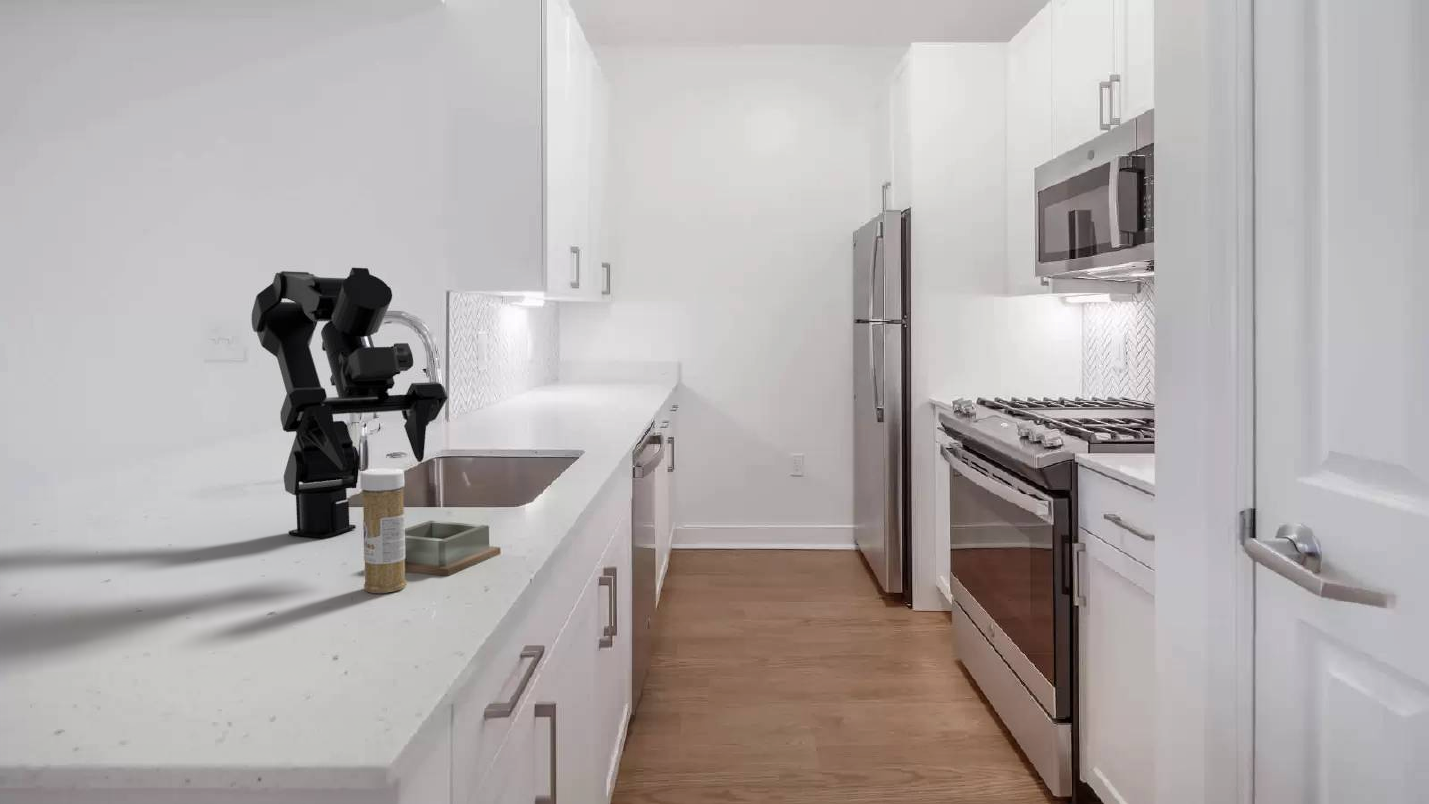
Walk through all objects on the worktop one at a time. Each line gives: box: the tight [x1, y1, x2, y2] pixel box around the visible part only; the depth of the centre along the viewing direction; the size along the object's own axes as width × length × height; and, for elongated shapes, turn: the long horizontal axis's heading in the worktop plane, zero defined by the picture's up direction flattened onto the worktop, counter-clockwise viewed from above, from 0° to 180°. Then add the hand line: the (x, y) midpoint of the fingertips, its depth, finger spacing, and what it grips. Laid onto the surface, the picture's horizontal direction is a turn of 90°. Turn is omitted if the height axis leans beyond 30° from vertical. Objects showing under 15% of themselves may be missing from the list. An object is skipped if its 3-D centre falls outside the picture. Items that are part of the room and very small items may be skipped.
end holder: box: [405, 520, 501, 577], centre depth 109 cm, size 11×11×4 cm
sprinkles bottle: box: [359, 467, 407, 594], centre depth 97 cm, size 5×5×13 cm
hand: (383, 464), depth 104 cm, fingers open, 9 cm apart
